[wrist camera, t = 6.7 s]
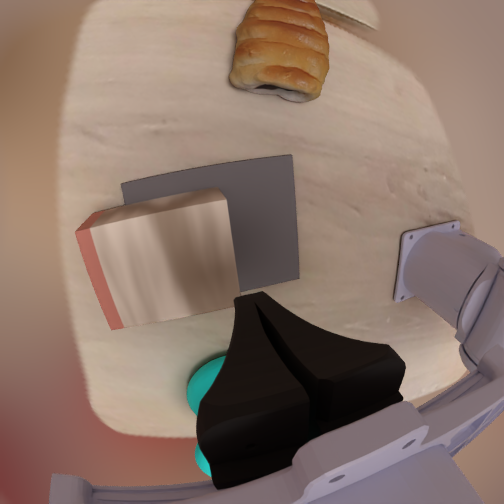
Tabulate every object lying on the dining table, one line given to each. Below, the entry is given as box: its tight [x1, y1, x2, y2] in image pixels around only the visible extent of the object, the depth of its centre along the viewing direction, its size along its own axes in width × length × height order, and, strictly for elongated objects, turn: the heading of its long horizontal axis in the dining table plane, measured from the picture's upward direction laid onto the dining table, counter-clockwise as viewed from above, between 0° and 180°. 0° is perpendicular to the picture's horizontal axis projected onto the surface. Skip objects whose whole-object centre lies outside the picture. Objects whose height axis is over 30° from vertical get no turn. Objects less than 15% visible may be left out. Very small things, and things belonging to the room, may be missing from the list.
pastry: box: [229, 0, 329, 102], centre depth 15 cm, size 9×7×4 cm
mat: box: [121, 155, 299, 292], centre depth 21 cm, size 12×10×1 cm
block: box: [75, 187, 241, 330], centre depth 18 cm, size 4×7×9 cm
